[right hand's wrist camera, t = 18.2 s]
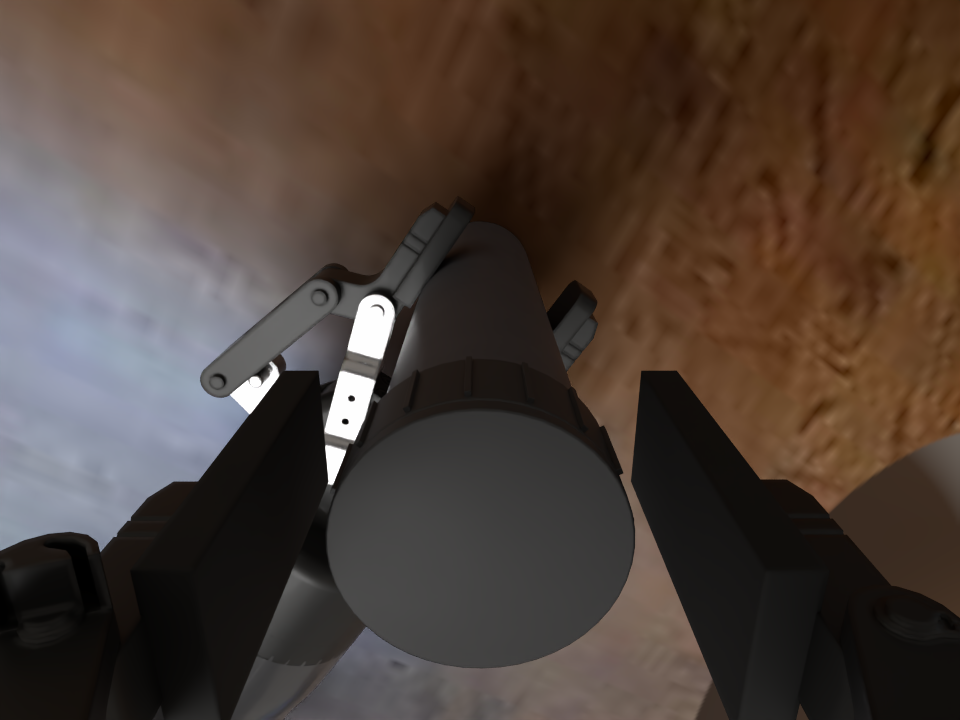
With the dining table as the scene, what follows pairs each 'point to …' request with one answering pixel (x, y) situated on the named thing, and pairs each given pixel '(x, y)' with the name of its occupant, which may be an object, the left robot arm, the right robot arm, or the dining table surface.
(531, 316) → the dark grey bottle
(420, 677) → the dining table surface
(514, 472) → the lid
